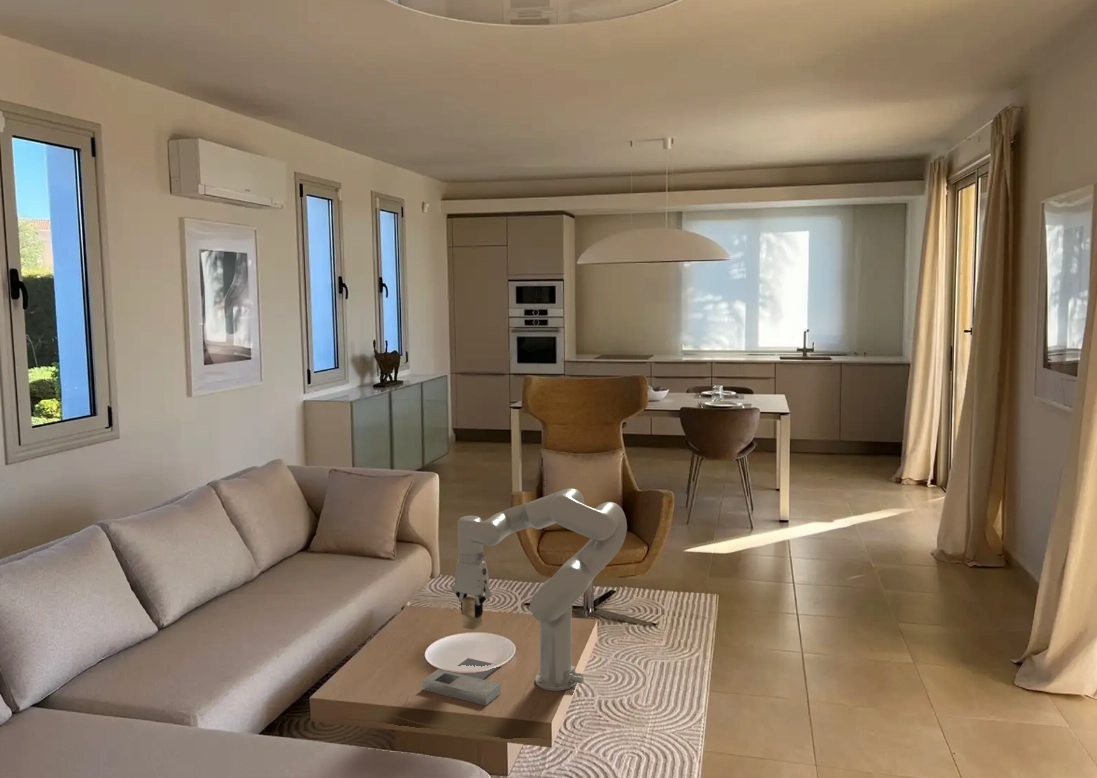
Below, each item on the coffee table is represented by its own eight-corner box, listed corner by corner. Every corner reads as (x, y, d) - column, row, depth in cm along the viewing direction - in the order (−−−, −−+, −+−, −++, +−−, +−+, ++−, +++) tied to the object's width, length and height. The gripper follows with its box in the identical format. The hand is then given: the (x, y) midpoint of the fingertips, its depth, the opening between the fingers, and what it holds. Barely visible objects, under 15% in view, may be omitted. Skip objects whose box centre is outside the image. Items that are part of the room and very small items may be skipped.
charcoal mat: (500, 667, 262) (500, 665, 262) (480, 683, 252) (479, 681, 251) (468, 659, 268) (468, 658, 268) (446, 675, 257) (446, 673, 257)
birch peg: (481, 625, 259) (481, 596, 258) (474, 630, 255) (473, 601, 254) (470, 622, 261) (469, 594, 260) (462, 627, 257) (462, 599, 256)
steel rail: (500, 693, 245) (500, 683, 244) (486, 705, 238) (486, 695, 237) (438, 678, 255) (438, 669, 255) (422, 689, 248) (422, 680, 248)
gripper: (500, 557, 255) (501, 615, 257) (454, 550, 263) (455, 606, 265) (487, 564, 248) (488, 623, 250) (440, 556, 256) (442, 614, 258)
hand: (472, 614), depth 258 cm, fingers closed on birch peg, 4 cm apart
